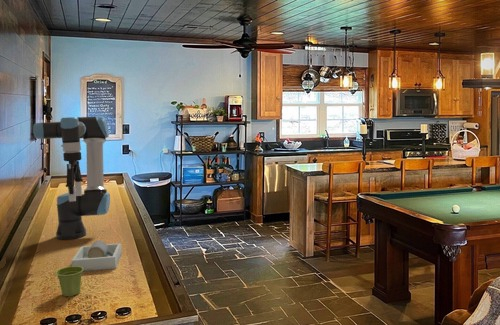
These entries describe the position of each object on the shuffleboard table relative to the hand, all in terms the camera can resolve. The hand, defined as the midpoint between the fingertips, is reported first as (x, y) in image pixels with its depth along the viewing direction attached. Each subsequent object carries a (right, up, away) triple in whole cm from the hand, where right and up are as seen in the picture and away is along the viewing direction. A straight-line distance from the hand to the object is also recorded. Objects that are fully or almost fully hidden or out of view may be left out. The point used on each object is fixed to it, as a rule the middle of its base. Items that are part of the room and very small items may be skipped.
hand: (75, 198), depth 211 cm
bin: (+13, -27, -8) cm, 31 cm away
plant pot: (+14, -31, -42) cm, 54 cm away
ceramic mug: (+14, -26, -8) cm, 31 cm away
